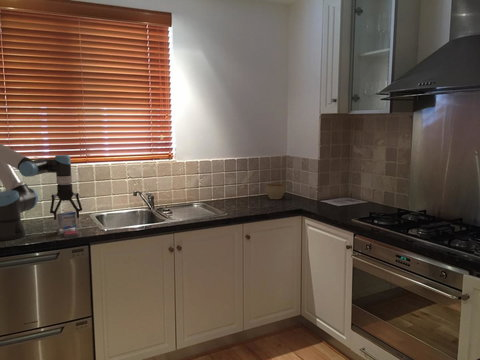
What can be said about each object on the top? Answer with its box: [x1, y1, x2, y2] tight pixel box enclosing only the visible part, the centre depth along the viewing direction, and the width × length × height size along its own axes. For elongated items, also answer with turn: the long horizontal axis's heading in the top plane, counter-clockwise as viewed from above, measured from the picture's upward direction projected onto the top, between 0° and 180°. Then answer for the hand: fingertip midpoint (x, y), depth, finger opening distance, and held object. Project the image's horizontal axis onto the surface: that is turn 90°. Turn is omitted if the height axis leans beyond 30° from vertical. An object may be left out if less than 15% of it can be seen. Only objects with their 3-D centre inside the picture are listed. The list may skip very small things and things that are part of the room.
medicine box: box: [58, 210, 77, 230], centre depth 227 cm, size 8×4×9 cm, turn 145°
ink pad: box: [63, 229, 79, 238], centre depth 218 cm, size 7×7×2 cm
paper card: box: [57, 225, 78, 235], centre depth 227 cm, size 10×13×1 cm
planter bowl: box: [264, 182, 287, 200], centre depth 317 cm, size 16×16×11 cm
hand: (67, 224), depth 227 cm, fingers closed on medicine box, 9 cm apart
